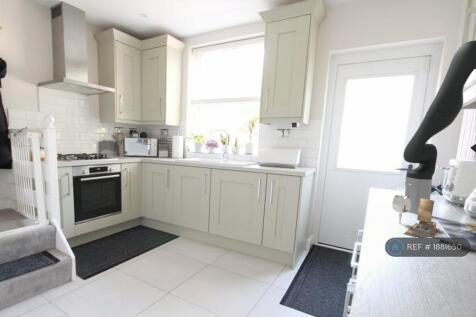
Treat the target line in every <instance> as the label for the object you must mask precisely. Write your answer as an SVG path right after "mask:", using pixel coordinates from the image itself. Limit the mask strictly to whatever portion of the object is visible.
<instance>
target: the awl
mask: <svg viewBox="0 0 476 317" xmlns="http://www.w3.org/2000/svg"><path fill="white" fill-rule="evenodd" d="M434 206H435V200H434V199H433V200H432V199H430V200H428V199H422V198H421V199H420V205H419V211H418V214H417V219H416V220H417V221H418V222H419V221H421V222H420V229H423V230H426V225H427V222H428V223H431V221H432V218H433V211H434Z"/></svg>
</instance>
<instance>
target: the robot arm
mask: <svg viewBox="0 0 476 317" xmlns="http://www.w3.org/2000/svg"><path fill="white" fill-rule="evenodd" d="M475 70H476V40H469V41H467V42H465V43H463V44H461V46H459V47H458V49H457V50H456V52H455V53H454V55H453V57H452V59H451V61H450V64H449V66H448V69H447V72H446V74H445V76H444V79H443V81H442V84H441V85H440V87H439V89H438V91H437V93H436V95H435V97H434V98H433V101H432V102H431V104H430V105H429V107H428V109H427V112H426V113H425V116H424V117H423V119H422V120H421V122H420V125H419V126H418V129H416V131H415V133H414V134H413V136H412V137H411V139H410V140H409V141H408V143H407V144H406V146H405V148H404V150H403V159H404V161H405V162H407V163H411V164H418V166H417V167H415V168H413V169H410V170H407V172H406V176H405V190H404V196H406V197H409V198H410V202H411V209H410V211H409V212H408V213H411V214H415V215H418V211H419V205H420V199H421V198H422V199H428V200H431V197H432V196H431V195H432V184H433V177H434V174H435V171H436V165H437V159H438V150H437V147H436V146H435V144H432V143H428V141H429V140H430V139H431V138H433V137H434V136H435V135H437V134H439V133H440V132H442V131H444V130H445V129H446V128H448V127H449V126H450V125H451V124H453V122H455V120H456V118H457V117H458V115H459V113H460V112H461V111H462V108H463V105H464V88H465V85H466V83H467V81H468V79H469V78H470V76H471V74H472V73H473V72H474V71H475ZM470 150H472V151H473V152H475V153H476V143H475V144H473V145H472V146H470Z"/></svg>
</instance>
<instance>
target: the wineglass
mask: <svg viewBox="0 0 476 317" xmlns="http://www.w3.org/2000/svg"><path fill="white" fill-rule="evenodd" d="M391 206H392V209H393V211H395V212H397V213H399V214H398V219H399V221H398V224H402V223H401V222H402V221H401V220H402V217H403V214H406V213H410V212H409V211H410V209H411V202H410V198H409V197H406V196H405V195H399V194H397V195H395V194H394V196H393V198H392V204H391Z"/></svg>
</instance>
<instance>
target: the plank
mask: <svg viewBox="0 0 476 317" xmlns="http://www.w3.org/2000/svg"><path fill="white" fill-rule="evenodd" d="M420 222H421V221H419V220H418V223H417V222H415V223H414V224H413V225H412V226H410V228H409V229H407V230H406V231H405V232H404V233H403V235H404V236H405V235H406V236H410V237H413V238H416V237H418V238H417V239H419V238H427V237H433V238H434V237H435V236H436V235H437V233H439V231H440V229H441V228H438V227H437V222H435V221H432V220H431V223H428V222H427V225H426V230H423V229H420Z"/></svg>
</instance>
